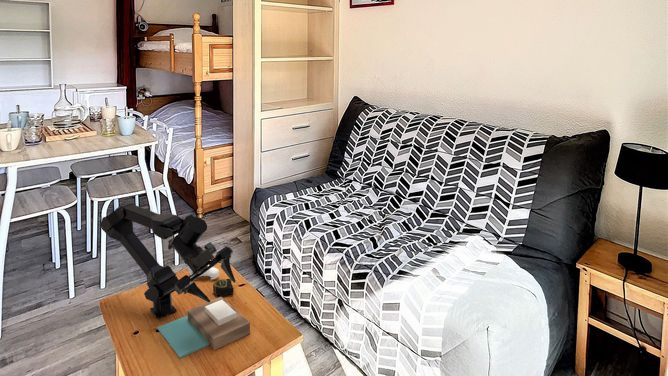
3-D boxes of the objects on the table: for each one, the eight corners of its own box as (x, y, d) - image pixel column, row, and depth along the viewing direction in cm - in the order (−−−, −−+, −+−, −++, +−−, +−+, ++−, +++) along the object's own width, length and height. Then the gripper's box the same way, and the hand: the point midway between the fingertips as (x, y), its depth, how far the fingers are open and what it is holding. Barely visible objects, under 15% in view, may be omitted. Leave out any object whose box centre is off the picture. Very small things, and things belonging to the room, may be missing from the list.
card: (205, 311, 139) (204, 306, 138) (222, 304, 142) (222, 299, 142) (218, 325, 132) (218, 320, 132) (236, 318, 136) (236, 312, 135)
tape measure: (234, 296, 155) (233, 286, 153) (214, 299, 152) (213, 289, 151) (231, 285, 161) (231, 276, 159) (212, 288, 158) (211, 279, 157)
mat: (157, 328, 136) (157, 327, 136) (188, 316, 143) (188, 315, 142) (180, 358, 124) (179, 356, 124) (212, 343, 131) (212, 341, 130)
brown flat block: (188, 320, 140) (186, 310, 139) (222, 306, 148) (221, 296, 147) (214, 350, 128) (213, 338, 126) (250, 333, 135) (249, 322, 134)
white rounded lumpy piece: (193, 251, 166) (222, 258, 165) (193, 271, 169) (222, 277, 168) (185, 259, 161) (215, 266, 159) (185, 279, 163) (215, 285, 162)
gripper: (163, 261, 118) (199, 305, 117) (218, 223, 129) (252, 264, 127) (161, 273, 127) (194, 315, 126) (213, 237, 138) (245, 275, 136)
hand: (222, 291), depth 128 cm, fingers open, 9 cm apart
